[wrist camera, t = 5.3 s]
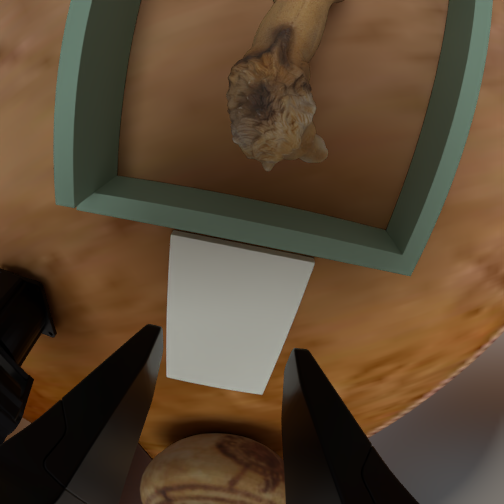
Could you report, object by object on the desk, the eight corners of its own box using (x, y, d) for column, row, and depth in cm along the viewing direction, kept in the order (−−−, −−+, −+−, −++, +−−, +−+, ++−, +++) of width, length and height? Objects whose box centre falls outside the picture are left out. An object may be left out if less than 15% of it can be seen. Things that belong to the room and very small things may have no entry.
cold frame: (394, 250, 19) (422, 297, 15) (100, 191, 18) (58, 225, 13) (466, -16, 9) (514, -29, 5) (153, -89, 8) (122, -124, 4)
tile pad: (262, 389, 27) (262, 394, 27) (168, 372, 27) (166, 376, 26) (313, 257, 19) (314, 263, 19) (173, 230, 19) (170, 234, 18)
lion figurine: (304, 150, 16) (329, 196, 10) (227, 132, 16) (198, 166, 10) (353, -36, 10) (400, -91, 4) (275, -56, 10) (278, -126, 3)
